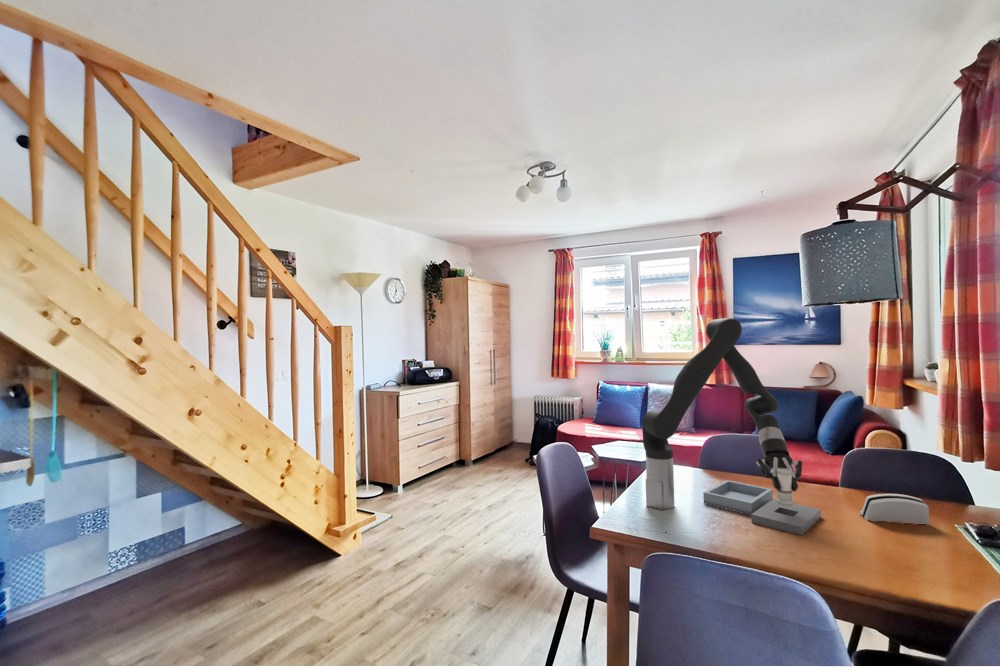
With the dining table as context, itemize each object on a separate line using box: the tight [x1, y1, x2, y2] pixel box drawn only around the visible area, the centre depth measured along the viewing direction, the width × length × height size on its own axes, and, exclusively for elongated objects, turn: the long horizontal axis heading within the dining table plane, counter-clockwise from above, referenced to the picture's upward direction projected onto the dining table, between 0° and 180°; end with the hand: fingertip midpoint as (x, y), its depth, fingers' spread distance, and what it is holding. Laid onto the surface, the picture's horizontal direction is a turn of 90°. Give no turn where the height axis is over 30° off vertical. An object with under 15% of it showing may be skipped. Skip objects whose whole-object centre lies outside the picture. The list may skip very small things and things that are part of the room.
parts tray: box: [702, 479, 774, 516], centre depth 164 cm, size 20×16×4 cm
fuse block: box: [750, 498, 822, 536], centre depth 147 cm, size 20×14×2 cm
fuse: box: [776, 468, 793, 506], centre depth 148 cm, size 4×4×11 cm
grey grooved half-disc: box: [859, 493, 930, 525], centre depth 144 cm, size 17×5×10 cm, turn 73°
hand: (786, 489), depth 146 cm, fingers closed on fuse, 4 cm apart
